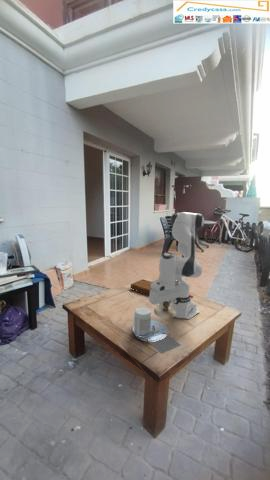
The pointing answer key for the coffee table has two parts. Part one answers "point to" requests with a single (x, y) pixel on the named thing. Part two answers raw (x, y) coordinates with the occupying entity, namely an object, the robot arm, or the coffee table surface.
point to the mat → (165, 344)
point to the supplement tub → (142, 322)
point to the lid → (165, 311)
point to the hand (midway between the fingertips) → (165, 307)
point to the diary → (142, 286)
